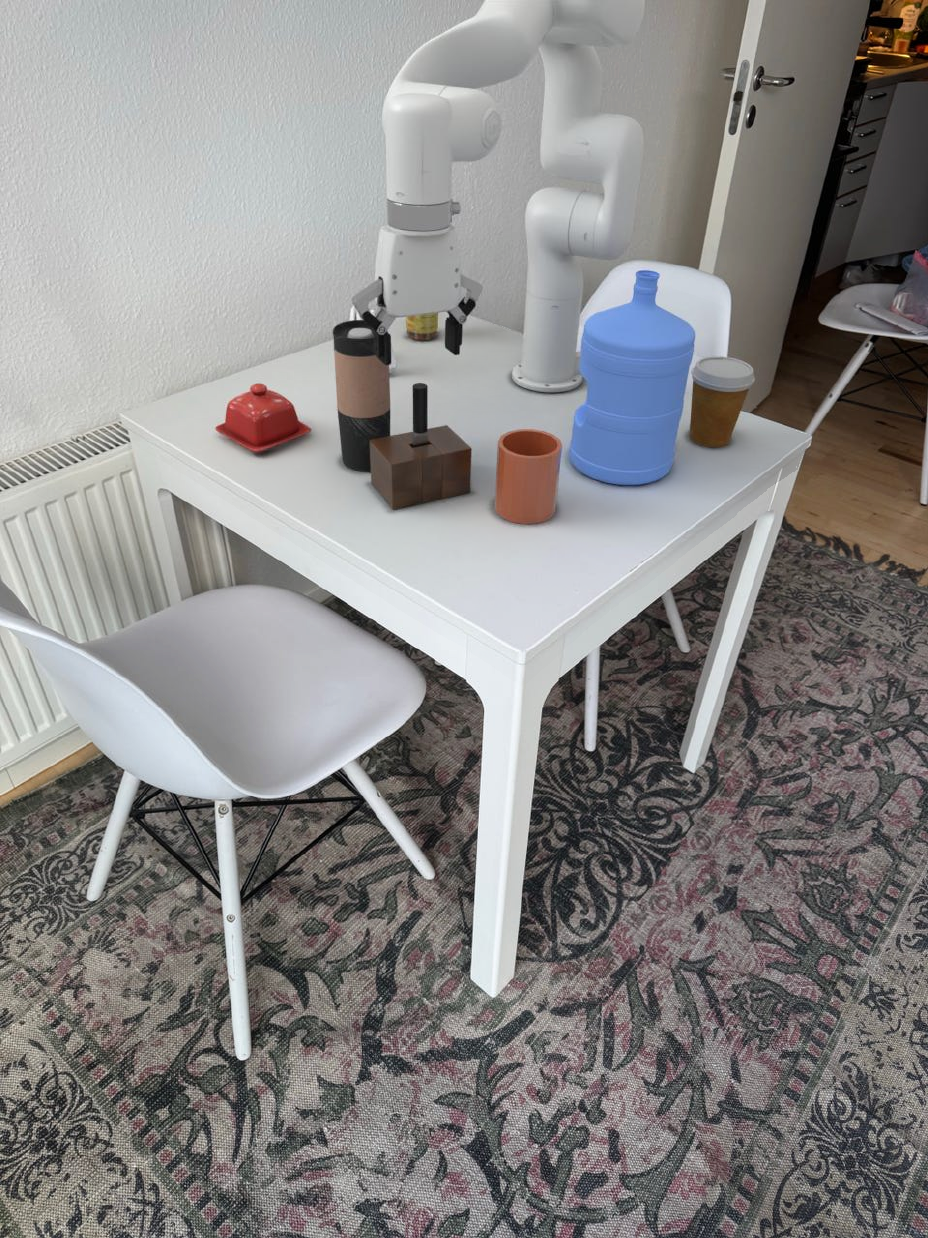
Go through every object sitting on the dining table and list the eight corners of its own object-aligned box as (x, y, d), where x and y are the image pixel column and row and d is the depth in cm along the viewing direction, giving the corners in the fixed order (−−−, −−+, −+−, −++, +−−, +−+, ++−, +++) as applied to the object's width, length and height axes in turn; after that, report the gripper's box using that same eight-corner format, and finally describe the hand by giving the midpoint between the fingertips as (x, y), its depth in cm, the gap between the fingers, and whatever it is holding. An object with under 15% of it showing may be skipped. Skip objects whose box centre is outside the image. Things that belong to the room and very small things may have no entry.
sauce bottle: (405, 330, 177) (404, 225, 165) (436, 330, 178) (437, 225, 166) (406, 342, 172) (405, 234, 160) (438, 342, 173) (439, 234, 161)
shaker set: (399, 376, 159) (398, 314, 152) (379, 381, 157) (377, 319, 150) (364, 355, 167) (362, 295, 160) (345, 359, 165) (341, 299, 158)
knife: (424, 483, 129) (424, 381, 119) (430, 489, 127) (430, 387, 118) (410, 486, 128) (409, 384, 118) (416, 493, 126) (415, 389, 117)
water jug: (691, 464, 135) (730, 275, 118) (630, 499, 126) (662, 300, 109) (610, 430, 144) (634, 250, 127) (547, 461, 135) (564, 271, 118)
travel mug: (399, 453, 136) (397, 323, 123) (379, 476, 130) (374, 342, 118) (353, 445, 137) (346, 316, 125) (332, 467, 132) (322, 334, 119)
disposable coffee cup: (744, 433, 144) (761, 361, 137) (732, 457, 138) (750, 383, 130) (687, 421, 147) (700, 350, 140) (672, 444, 141) (686, 371, 133)
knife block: (446, 468, 132) (446, 424, 128) (470, 492, 127) (471, 448, 123) (371, 484, 128) (369, 439, 124) (392, 510, 122) (391, 464, 118)
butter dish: (316, 436, 139) (312, 385, 134) (256, 460, 133) (249, 407, 127) (271, 413, 146) (265, 363, 140) (211, 435, 139) (203, 384, 134)
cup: (535, 488, 128) (541, 424, 122) (566, 516, 122) (573, 450, 116) (484, 500, 125) (487, 435, 119) (512, 529, 119) (517, 462, 113)
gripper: (469, 203, 111) (465, 338, 121) (338, 213, 104) (345, 355, 115) (498, 217, 105) (491, 357, 116) (361, 228, 99) (367, 376, 109)
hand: (418, 356), depth 115 cm, fingers open, 9 cm apart
